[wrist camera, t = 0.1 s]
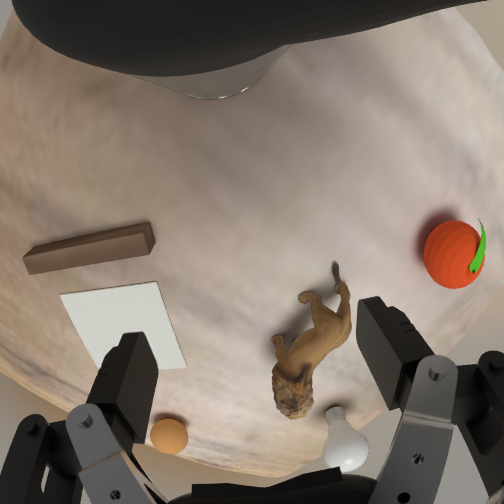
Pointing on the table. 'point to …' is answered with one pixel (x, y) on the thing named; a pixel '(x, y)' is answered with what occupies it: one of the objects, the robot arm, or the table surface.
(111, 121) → the table surface
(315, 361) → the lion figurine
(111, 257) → the strip
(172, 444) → the ball
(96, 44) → the robot arm
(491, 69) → the table surface
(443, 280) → the tomato
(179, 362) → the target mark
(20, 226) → the table surface
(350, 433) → the lightbulb
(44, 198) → the table surface
